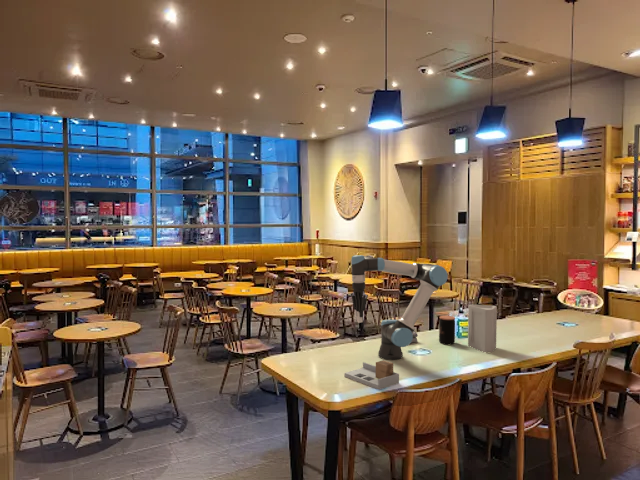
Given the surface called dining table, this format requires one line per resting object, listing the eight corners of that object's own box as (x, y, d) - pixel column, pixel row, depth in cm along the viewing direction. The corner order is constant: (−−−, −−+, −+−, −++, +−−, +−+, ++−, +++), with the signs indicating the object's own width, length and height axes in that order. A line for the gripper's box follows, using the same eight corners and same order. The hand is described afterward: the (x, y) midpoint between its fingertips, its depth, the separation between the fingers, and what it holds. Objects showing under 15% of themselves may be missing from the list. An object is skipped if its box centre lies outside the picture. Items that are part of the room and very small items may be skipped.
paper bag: (504, 351, 303) (505, 308, 302) (485, 353, 298) (486, 309, 297) (485, 344, 321) (486, 303, 320) (467, 345, 316) (468, 304, 315)
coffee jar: (438, 340, 330) (438, 315, 329) (453, 341, 328) (453, 315, 328) (439, 344, 319) (440, 318, 319) (455, 345, 318) (456, 319, 317)
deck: (363, 371, 261) (363, 362, 261) (398, 383, 241) (399, 373, 241) (344, 376, 252) (344, 367, 252) (379, 389, 232) (379, 379, 232)
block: (382, 374, 248) (383, 360, 248) (393, 378, 243) (393, 363, 243) (375, 377, 244) (375, 362, 244) (385, 380, 239) (385, 365, 239)
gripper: (346, 281, 272) (347, 321, 273) (361, 283, 262) (362, 325, 262) (356, 280, 277) (357, 319, 277) (371, 282, 266) (372, 323, 267)
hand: (360, 322), depth 270 cm, fingers closed
